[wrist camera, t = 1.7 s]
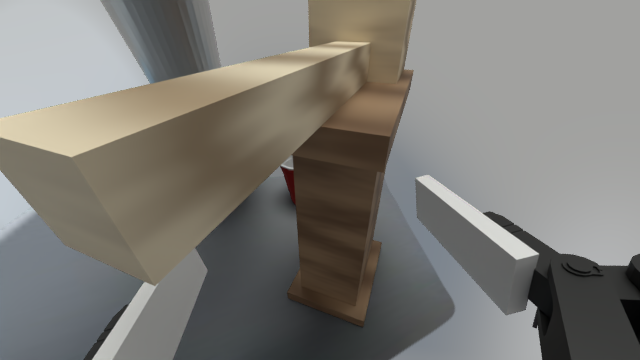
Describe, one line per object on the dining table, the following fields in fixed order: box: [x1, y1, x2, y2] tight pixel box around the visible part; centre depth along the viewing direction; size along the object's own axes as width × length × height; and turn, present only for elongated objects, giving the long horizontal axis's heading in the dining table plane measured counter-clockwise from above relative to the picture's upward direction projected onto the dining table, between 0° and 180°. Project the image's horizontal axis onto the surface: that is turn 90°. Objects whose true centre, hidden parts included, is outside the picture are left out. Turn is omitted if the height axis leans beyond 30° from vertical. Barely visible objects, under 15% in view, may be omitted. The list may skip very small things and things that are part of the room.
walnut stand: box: [287, 70, 413, 327], centre depth 28 cm, size 20×11×29 cm, turn 159°
